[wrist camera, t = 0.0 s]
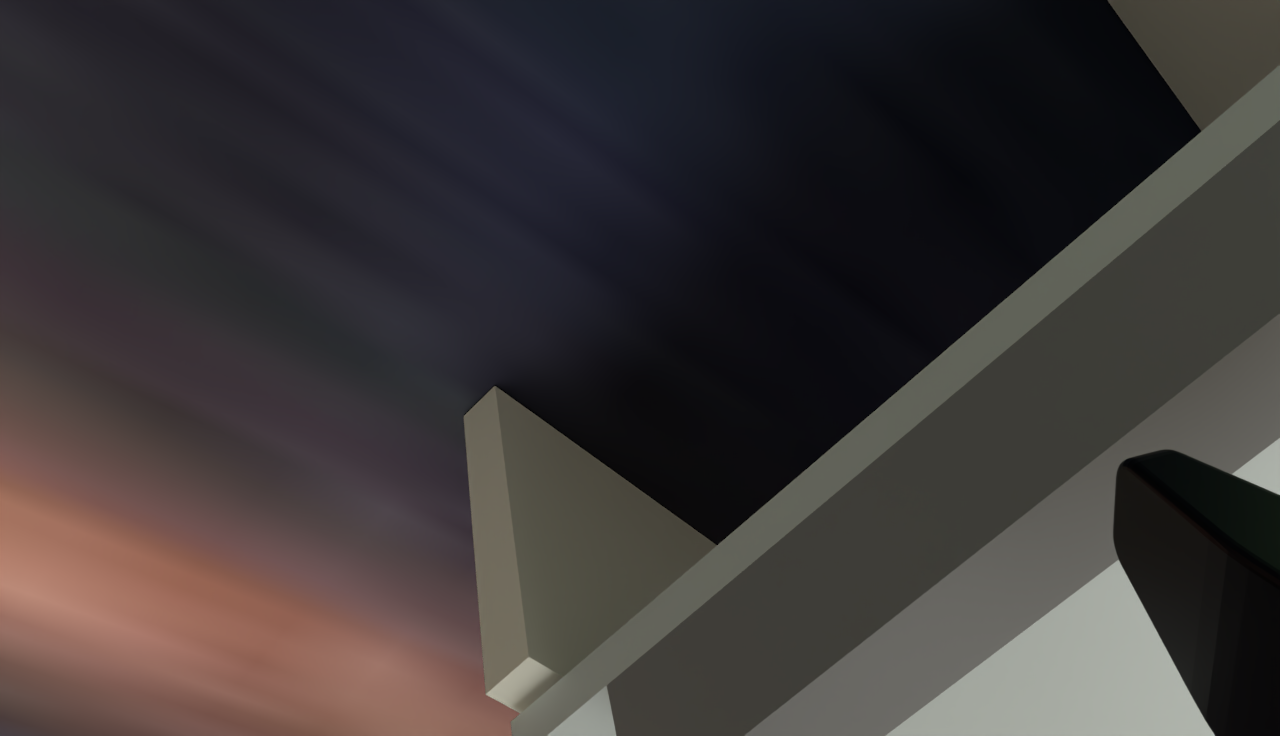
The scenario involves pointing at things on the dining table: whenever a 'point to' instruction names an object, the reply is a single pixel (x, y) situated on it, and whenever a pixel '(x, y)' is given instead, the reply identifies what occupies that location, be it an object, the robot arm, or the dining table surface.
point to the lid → (988, 501)
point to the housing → (642, 528)
